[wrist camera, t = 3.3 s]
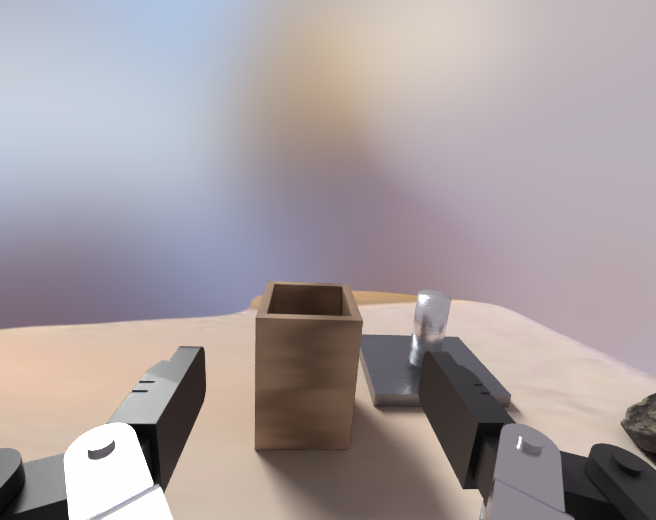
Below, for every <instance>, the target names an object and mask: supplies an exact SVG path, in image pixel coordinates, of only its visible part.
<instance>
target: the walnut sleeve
mask: <svg viewBox="0 0 656 520" xmlns="http://www.w3.org/2000/svg"><path fill="white" fill-rule="evenodd" d="M362 325H363V320H362V317H361V315H360V312H359V309H358V307H357V304H356V302H355V299H354V297H353V294H352V291H351V289H350V286H349V284H330V283H303V282H278V281H268V282H267V285H266V288H265V291H264V294H263V297H262V300H261V303H260V306H259V309H258V312H257V315H256V343H255V450H284V449H349V447H350V438H351V428H352V419H353V409H354V400H355V390H356V381H357V372H358V362H359V353H360V343H361V334H362Z"/></svg>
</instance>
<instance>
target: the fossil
mask: <svg viewBox="0 0 656 520" xmlns="http://www.w3.org/2000/svg"><path fill="white" fill-rule="evenodd" d="M621 425H622V427H623V428H624V430H625V431H626V433H627V434H628V435H629V436H630V438H631V439H632V440H633V441H634V442H635V443H636V444H637V445H638V446H639V447H641V448H642V449H644V450H647V451H650V452H654V453H656V393H655V394H652V395H650V396H648V397H646V398H645V399H643V400H642V402H639V403H637V404H634V405H632V406H631V407H629V408H628V409H627V412H626V420H625V419H624V420H623V421H621Z"/></svg>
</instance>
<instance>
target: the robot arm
mask: <svg viewBox="0 0 656 520" xmlns="http://www.w3.org/2000/svg"><path fill="white" fill-rule="evenodd" d="M205 392H206V373H205V352H204V348H203V347H191V346H180V347H179V348H178V349H177V351H176V352H175V354H174V355H173V356H172V358H171V359H170V361H161V362H159V363H158V364H156V365H155V366H153V367H152V368H150V369H149V370H148V371H147V372H146V373H145V375H144V376H143V377H142V378H141V380H140V382H139V383H138V384H137V385H136V386H135V387H134V389H133V390H132V393H130V394H129V395H128V396H127V398H126V399H125V400H124V401H123V403H122V404H121V405H120V407H119V408H118V409H117V410H116V412H115V413H114V414H113V416H112V417H111V418H110V419H109V421H108V422H107V423H106V425H103V426H100V427H97V428H95V429H93V430H91V431H89V432H87V433H85V434H84V435H82V436H81V437H79V438H78V439H77V440H76V441H75V442H74V443H72V444H71V446H70V447H69V448H68V450H67V452H66V453H63V454H59V455H56V456H52V457H47V458H43V459H39V460H35V461H31V462H27V463H23V462H22V458H21V455H20V453H19V452H18V451H17V450H15V449H11V448H0V520H173V519H172V517H171V514H170V511H169V509H168V506H167V503H166V501H165V498H164V495H163V494H164V492H165V490H166V488H167V485H168V483H169V481H170V478H171V476H172V474H173V471H174V469H175V467H176V464H177V462H178V460H179V458H180V455H181V453H182V451H183V448H184V446H185V444H186V441H187V439H188V437H189V435H190V432H191V430H192V428H193V425H194V423H195V421H196V418H197V416H198V414H199V411H200V409H201V407H202V404H203V402H204V398H205ZM418 394H419V400H420V403H421V406H422V408H423V410H424V412H425V414H426V416H427V418H428V420H429V422H430V424H431V426H432V428H433V430H434V432H435V434H436V436H437V438H438V440H439V442H440V444H441V446H442V448H443V450H444V452H445V454H446V456H447V458H448V460H449V462H450V464H451V466H452V468H453V470H454V472H455V474H456V476H457V478H458V480H459V482H460V484H461V486H462V488H463V489H478V490H479V491H480V493H481V495H482V497H483V503H482V507H481V512H480V518H479V520H656V470H655V469H654V468H653V467H651V466H650V465H649V464H648V463H647V462H645V461H644V460H642V459H641V458H639V457H638V456H636V455H634V454H633V453H631V452H629V451H627V450H625V449H622V448H620V447H617V446H614V445H610V444H603V443H600V444H595V445H593V446H592V448H591V451H590V453H589V456H588V458H587V457H583V456H579V455H575V454H571V453H567V452H563V451H559V449H558V448H557V446H556V445H555V444H554V443H553V442H552V441H551V440H550V439H549V438H548V437H547V436H545V435H544V434H542V433H541V432H539V431H537V430H535V429H533V428H531V427H528V426H526V425H522V424H516V423H515V422H514V420H513V419H512V418H511V417H510V416H509V414H508V413H507V412H506V411H505V410H504V408H503V407H502V406H501V405H500V404H499V402H498V401H497V400H496V399H495V398H494V396H493V395H491V394H490V392H489V390H488V389H487V388H486V387H485V386H483V383H482V382H481V381H480V380H479V378H478V377H477V376H476V375H475V374H474V373H473V372H471V371H470V370H468V369H467V368H465V367H464V366H463V365H458V364H457V363H456V361H455V360H454V359H453V358H452V356H451V355H450V354H449V353H448V352H447V351H426V352H425V354H424V357H423V363H422V369H421V375H420V381H419V387H418Z"/></svg>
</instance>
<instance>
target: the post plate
mask: <svg viewBox="0 0 656 520" xmlns="http://www.w3.org/2000/svg"><path fill="white" fill-rule="evenodd" d="M450 303H451V297H450V296H449V295H447V294H445V293H442V292H439V291H434V290H422V291H420V292H418V297H417V304H416V310H415V317H414V323H413V330H412V336H400V335H361V343H360V353H359V357H360V360H361V364H362V367H363V371H364V374H365V377H366V381H367V384H368V387H369V391H370V394H371V398H372V401H373V404H374V406H421V403H420V400H419V394H418V387H419V381H420V375H421V369H422V363H423V357H424V354H425V352H426V351H447V352H448V353H449V354H450V355H451V356H452V358H453V359H454V360H455V361H456V363H457V364H458V365H463V366H464V367H465V368H467V369H468V370H470V371H471V372H473V373H474V374H475V375H476V376H477V377H478V378H479V380H480V381H481V382H482V383H483V386H485V387H486V388H487V389H488V390H489V392H490V394H491V395H493V396H494V398H495V399H496V400H497V401H498V402H499V404H500V405H501V406H502V407H508V405H509V401H510V398H511V394H510V393H509V392H508V391H507V390H506V389H505V388H504V387H503V386H502V385H501V384H500V382H499V381H498V380H497V379H496V378H495V377H494V376H493V375H492V374H491V373H490V372H489V370H488V369H487V368H486V367H485V366H484V365H483V364H482V363H481V362H480V361H479V360H478V358H477V357H476V356H475V355H474V354H473V353H472V352H471V351H470V350H469V349H468V348H467V346H466V345H465V344H464V343H463V342H462V341H461V340H460V339H459V338H458V337H444V336H445V330H446V325H447V320H448V314H449V309H450Z"/></svg>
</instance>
